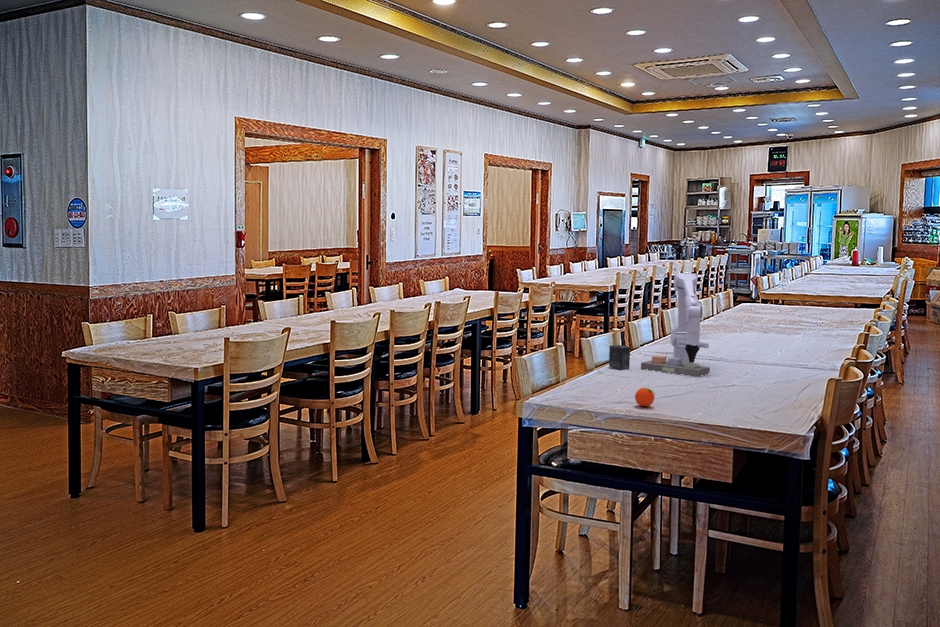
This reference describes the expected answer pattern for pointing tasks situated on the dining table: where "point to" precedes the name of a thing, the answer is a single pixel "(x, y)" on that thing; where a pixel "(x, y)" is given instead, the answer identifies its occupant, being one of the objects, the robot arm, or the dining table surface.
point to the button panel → (675, 368)
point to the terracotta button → (659, 359)
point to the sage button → (691, 365)
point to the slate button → (675, 361)
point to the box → (619, 356)
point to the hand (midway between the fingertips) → (691, 362)
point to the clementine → (644, 397)
